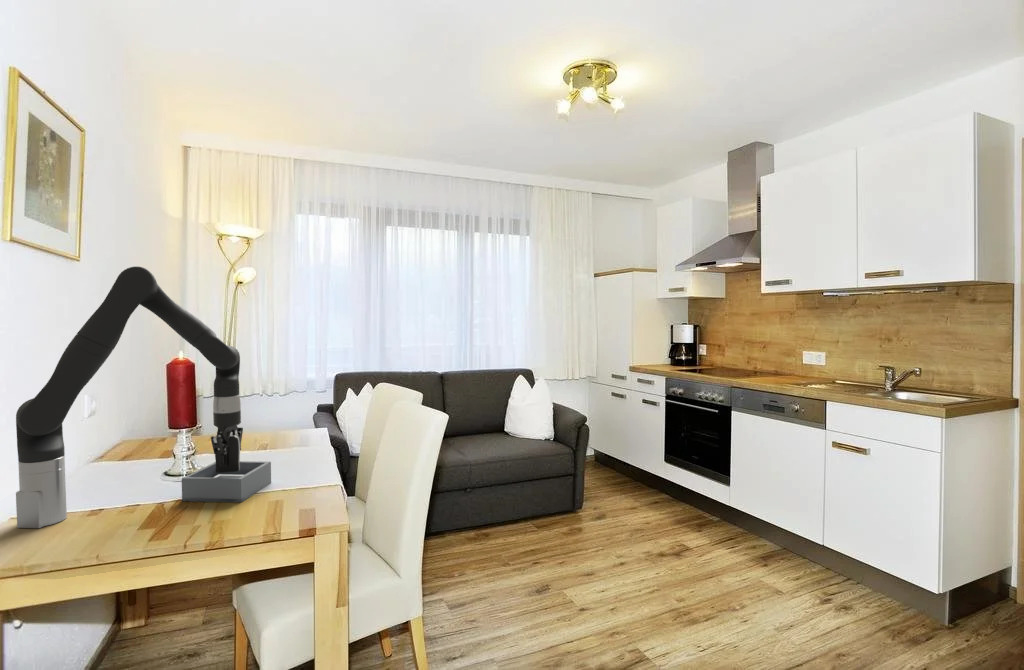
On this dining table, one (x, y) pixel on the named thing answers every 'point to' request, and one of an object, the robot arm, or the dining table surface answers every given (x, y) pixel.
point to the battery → (231, 456)
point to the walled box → (226, 483)
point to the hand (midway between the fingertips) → (228, 463)
